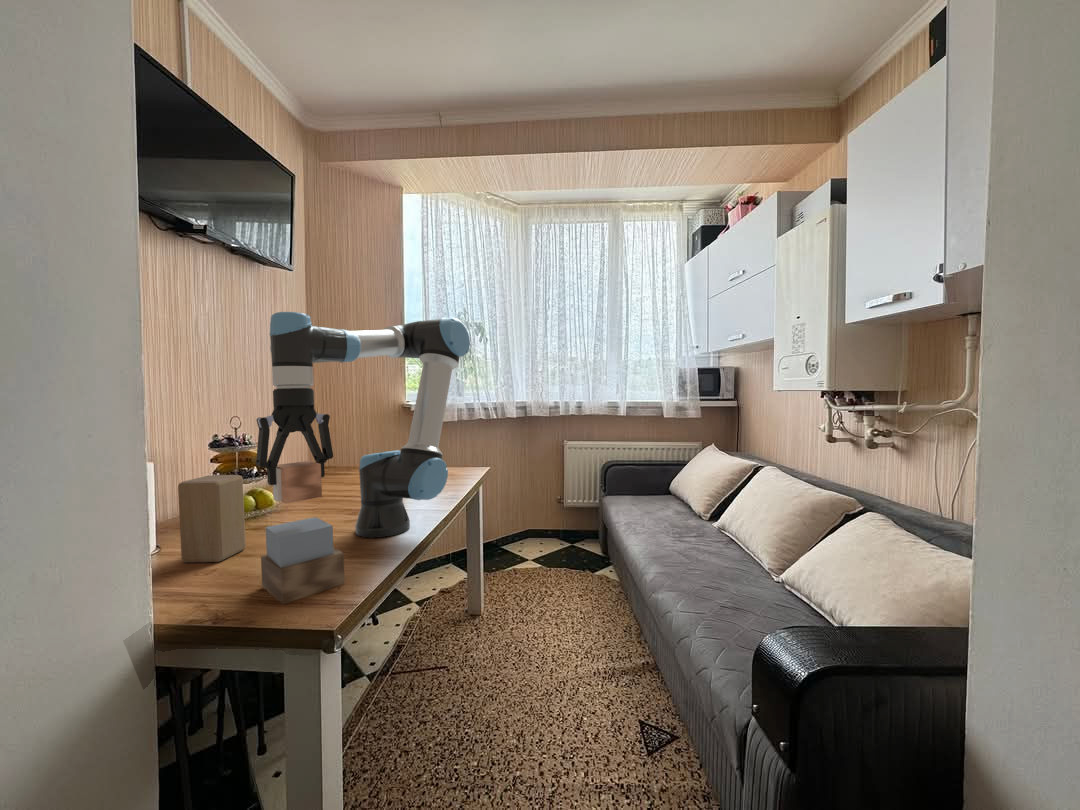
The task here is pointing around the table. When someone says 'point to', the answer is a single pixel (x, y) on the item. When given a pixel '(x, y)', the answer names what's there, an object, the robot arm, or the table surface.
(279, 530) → the tower top
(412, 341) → the robot arm
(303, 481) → the cube
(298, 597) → the tower base
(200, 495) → the block
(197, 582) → the table surface
